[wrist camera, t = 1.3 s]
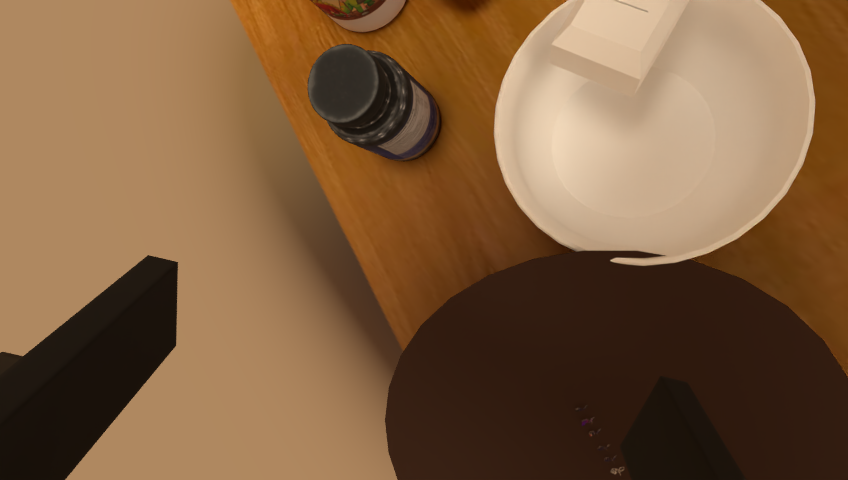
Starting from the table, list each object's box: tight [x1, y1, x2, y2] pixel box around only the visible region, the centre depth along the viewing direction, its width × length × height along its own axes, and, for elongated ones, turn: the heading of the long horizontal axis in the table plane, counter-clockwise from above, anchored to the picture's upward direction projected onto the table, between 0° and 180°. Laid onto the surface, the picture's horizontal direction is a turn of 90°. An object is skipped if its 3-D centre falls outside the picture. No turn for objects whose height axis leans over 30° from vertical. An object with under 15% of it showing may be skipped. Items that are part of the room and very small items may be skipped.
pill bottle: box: [308, 44, 441, 161], centre depth 34 cm, size 6×6×11 cm
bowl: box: [494, 0, 815, 266], centre depth 31 cm, size 16×16×8 cm
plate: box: [385, 251, 848, 480], centre depth 31 cm, size 28×28×4 cm
